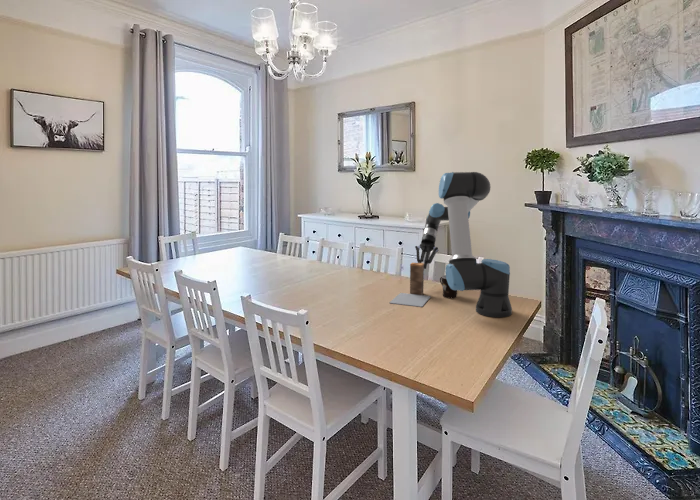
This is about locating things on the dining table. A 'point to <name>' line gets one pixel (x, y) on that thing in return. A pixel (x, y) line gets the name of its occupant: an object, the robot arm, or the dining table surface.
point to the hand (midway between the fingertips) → (421, 273)
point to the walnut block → (416, 278)
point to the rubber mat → (410, 299)
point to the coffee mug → (447, 289)
